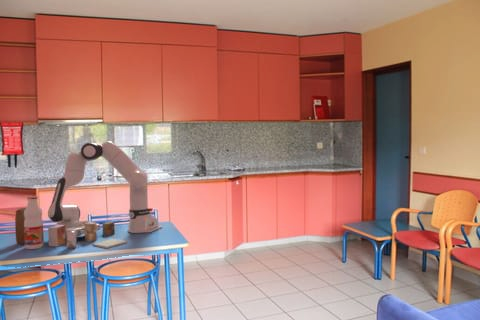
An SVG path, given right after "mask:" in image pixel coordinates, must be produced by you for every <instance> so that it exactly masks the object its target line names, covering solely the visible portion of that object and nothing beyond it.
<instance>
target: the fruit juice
mask: <svg viewBox="0 0 480 320" xmlns="http://www.w3.org/2000/svg"><path fill="white" fill-rule="evenodd" d="M25 208H26V209H25V210H24V217H25V220H24V239H25V244H24V248H25V249H26V250H35V249H37V250H38V249H41V248H43V247H44V246H45V242H44V241H45V240H44V239H45V237H44V236H45V235H44V220H43V217H42V215H43V210H42V208H41V207H40V204H39V203H38V196H37V195H32V196H27V204H26V207H25Z"/></svg>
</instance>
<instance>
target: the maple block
mask: <svg viewBox="0 0 480 320" xmlns="http://www.w3.org/2000/svg"><path fill="white" fill-rule="evenodd" d="M96 223H97V222H94V223H93V222H91V221H90V223H85V230H88V233H87V234H84V241H85V242H88V243H89V242H94V241H97V238H98V237H97V231H96Z"/></svg>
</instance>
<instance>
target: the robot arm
mask: <svg viewBox="0 0 480 320" xmlns="http://www.w3.org/2000/svg"><path fill="white" fill-rule="evenodd" d="M101 157H102V158H104V160H106V162H108V163H109V164H110V165H111V166H112V168H114V169H115V170H116V171H117V172H118V173H119V174H120V176H121V177H123V179H124V180H125V181H126V182H127V183H128V184H129V210H128V211H129V212H128V214H129V225H128V229H127V232H128V233H131V234H141V233H143V234H144V233H151V232H154V231H157V230H160V229H161V228H163V226H162V225H160V224H159V220H158V218H157V217H155V216H154V215H153V214H151V212H153V211H154V210H153V209H154V208H151V207H149V205H148V201H149V200H148V175H147V173H146V172H145V170H143V169H141V168H140V167H139V166H138V165H137V164H136V163H135V162H134V160H133V159H132V158H130V157H129V155H128V154H127V153H126V152H125V151H124V150H122V148H120V147H119V146H118V145H117V144H116V143H114V142H113V141H111V140H107V141H105V142H103V143H102V144H98V143H95V142H91V141H90V142H86V143H84V144H83V145H82V146H81V148H80V151H74V152H71V153H69V154H68V157H67V160H66V163H65V168H64V173H63V175H62V177H61V178H59V179H58V181H57V184H56V187H55V190H54V194H53V197H52V200H51V203H50V206H49V209H48V211H47V217H48V218H49V219H50V221H52V222H54V223H56V225H65V227H66V232H67V231H76V237H80V236H82V235H83V234H84V235H85V234H87V233H88V230H85V223H90V222H91V220H83V221H82V220H80V219H81V218H80V217H81V210H80V207H79V206H78V205H76V204H62V203H63V200H64V196H65V193H66V191H67V190H68V189H70V188H71V187H74V186H76V185H79V184H80V183H81V182H82V181H83V180H84V177H85V169H86V164H87V162H90V161H95V160H98V159H99V158H101ZM93 223H96V232H98V231H99V230H100V229H101V225H100V223H98V222H93Z"/></svg>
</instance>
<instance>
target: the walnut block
mask: <svg viewBox="0 0 480 320" xmlns="http://www.w3.org/2000/svg"><path fill="white" fill-rule="evenodd" d="M101 226H102V235H105V236H111V235H114V234H115V231H116V230H115V222H113V221H105V222H103V223H102V225H101Z"/></svg>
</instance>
